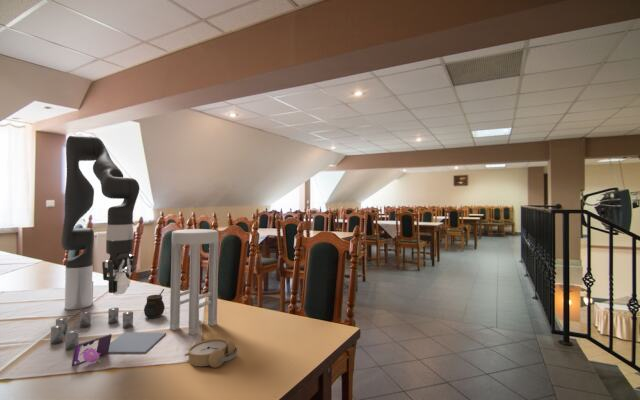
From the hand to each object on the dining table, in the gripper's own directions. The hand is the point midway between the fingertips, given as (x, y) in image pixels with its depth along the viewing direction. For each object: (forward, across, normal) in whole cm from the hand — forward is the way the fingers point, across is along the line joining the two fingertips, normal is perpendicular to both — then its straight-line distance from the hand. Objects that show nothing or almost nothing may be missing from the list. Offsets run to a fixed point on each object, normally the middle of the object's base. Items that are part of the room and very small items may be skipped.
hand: (119, 289), depth 105 cm
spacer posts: (+16, -6, -13) cm, 22 cm away
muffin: (+1, 0, 0) cm, 1 cm away
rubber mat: (+17, +1, +6) cm, 18 cm away
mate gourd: (+17, -23, 0) cm, 28 cm away
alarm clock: (+18, +11, +34) cm, 40 cm away
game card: (+17, +13, +1) cm, 22 cm away
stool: (+17, -13, +19) cm, 29 cm away
